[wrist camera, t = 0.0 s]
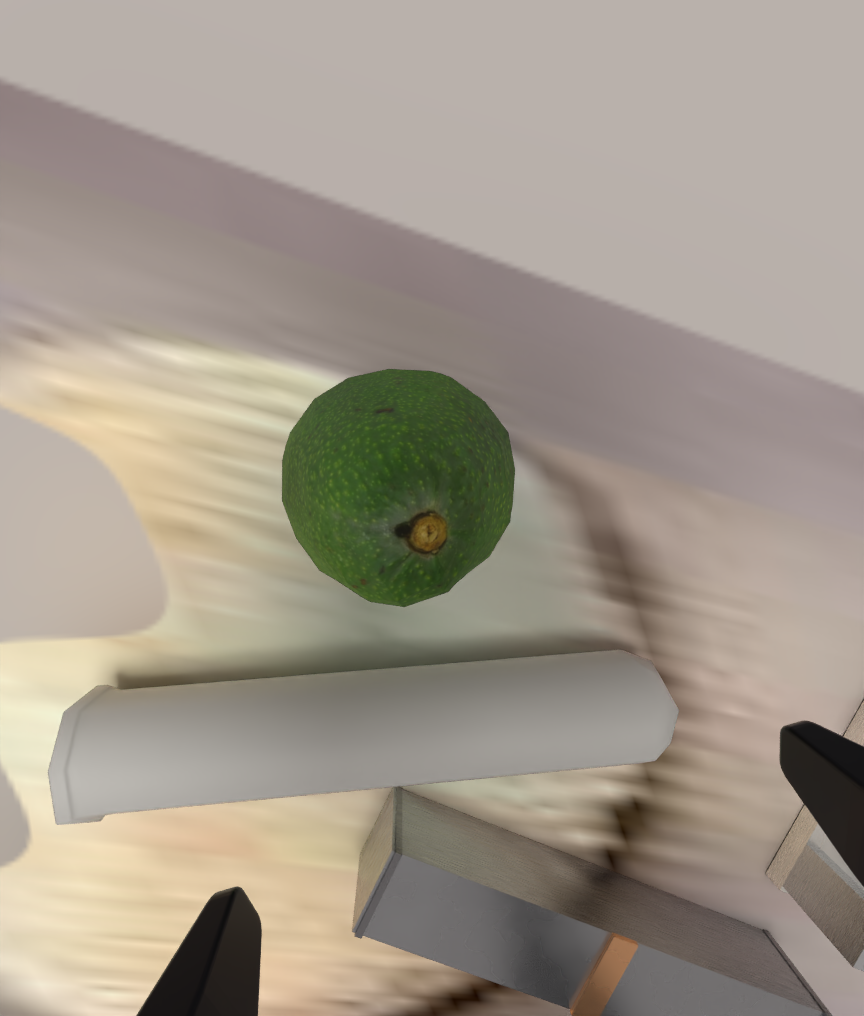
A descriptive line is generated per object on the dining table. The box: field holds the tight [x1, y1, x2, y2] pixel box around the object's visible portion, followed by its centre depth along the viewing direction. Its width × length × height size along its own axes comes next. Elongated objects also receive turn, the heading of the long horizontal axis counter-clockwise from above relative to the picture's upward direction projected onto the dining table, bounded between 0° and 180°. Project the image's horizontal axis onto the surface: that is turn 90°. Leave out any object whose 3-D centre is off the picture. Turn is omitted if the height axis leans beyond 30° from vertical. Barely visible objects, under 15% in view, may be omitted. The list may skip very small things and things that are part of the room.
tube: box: [48, 650, 679, 825], centre depth 22 cm, size 5×5×25 cm
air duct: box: [352, 787, 832, 1016], centre depth 24 cm, size 22×4×4 cm, turn 65°
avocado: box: [282, 369, 515, 607], centre depth 17 cm, size 8×8×12 cm
